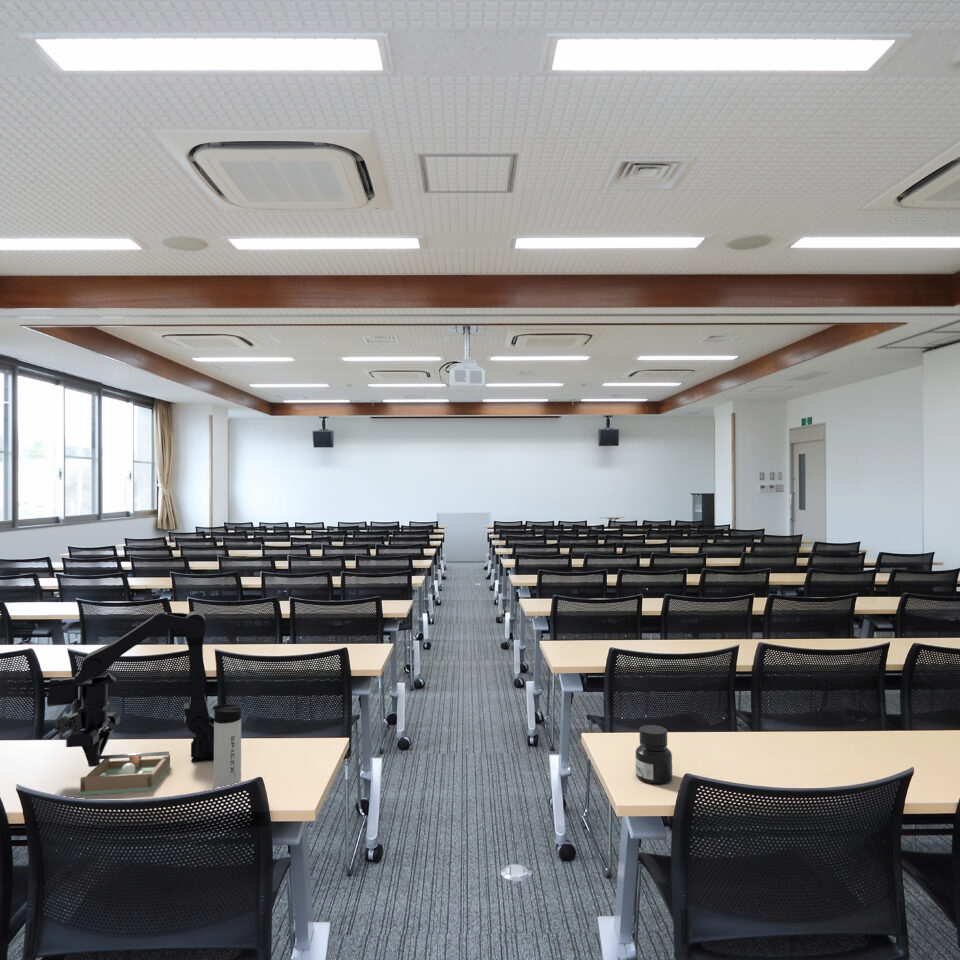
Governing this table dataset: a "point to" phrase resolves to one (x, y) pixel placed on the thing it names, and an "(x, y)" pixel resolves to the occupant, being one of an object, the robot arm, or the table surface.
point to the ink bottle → (653, 756)
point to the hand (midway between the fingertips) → (94, 762)
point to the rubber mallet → (133, 758)
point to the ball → (128, 768)
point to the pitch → (124, 776)
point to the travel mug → (227, 745)
